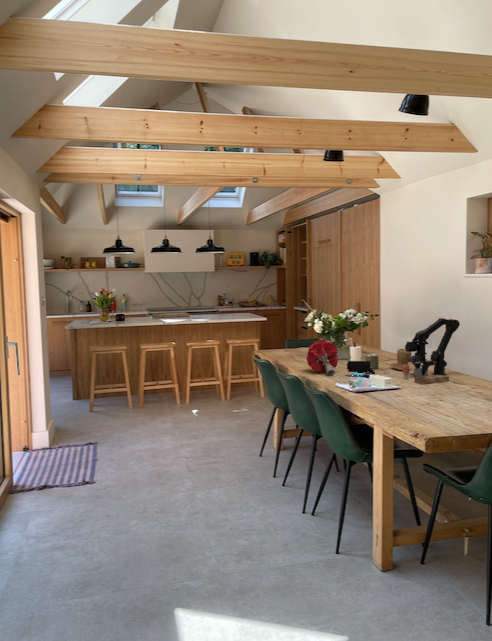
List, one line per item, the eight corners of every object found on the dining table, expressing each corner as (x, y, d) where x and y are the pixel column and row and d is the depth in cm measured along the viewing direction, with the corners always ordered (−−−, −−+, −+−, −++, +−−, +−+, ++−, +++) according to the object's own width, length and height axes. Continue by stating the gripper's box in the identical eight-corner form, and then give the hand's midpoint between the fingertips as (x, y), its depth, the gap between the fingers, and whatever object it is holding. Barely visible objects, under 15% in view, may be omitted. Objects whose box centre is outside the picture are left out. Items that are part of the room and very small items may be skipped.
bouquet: (344, 383, 353) (330, 356, 378) (348, 356, 340) (334, 330, 364) (315, 387, 350) (302, 359, 374) (317, 360, 337) (305, 334, 361)
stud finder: (423, 375, 343) (423, 367, 343) (427, 376, 339) (428, 368, 338) (413, 376, 340) (413, 368, 340) (418, 377, 336) (418, 369, 335)
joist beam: (440, 379, 327) (441, 374, 326) (448, 381, 320) (448, 376, 320) (414, 382, 319) (414, 377, 319) (422, 384, 313) (422, 379, 312)
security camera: (375, 377, 338) (375, 362, 337) (347, 376, 342) (346, 362, 341) (374, 375, 345) (374, 360, 344) (347, 374, 348) (346, 360, 348)
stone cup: (414, 370, 358) (414, 349, 357) (399, 371, 356) (399, 350, 354) (403, 367, 373) (404, 347, 371) (388, 368, 370) (388, 347, 369)
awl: (406, 377, 334) (406, 364, 333) (410, 378, 330) (410, 365, 330) (401, 378, 333) (401, 364, 332) (405, 379, 329) (405, 365, 328)
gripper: (401, 350, 344) (401, 373, 345) (420, 353, 326) (420, 377, 328) (415, 349, 348) (415, 371, 349) (434, 352, 330) (434, 376, 332)
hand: (420, 374), depth 339 cm, fingers open, 5 cm apart
